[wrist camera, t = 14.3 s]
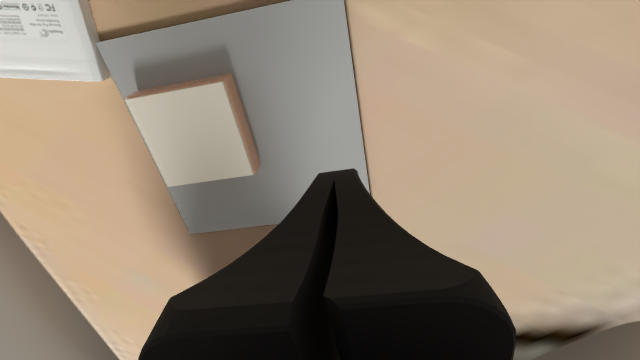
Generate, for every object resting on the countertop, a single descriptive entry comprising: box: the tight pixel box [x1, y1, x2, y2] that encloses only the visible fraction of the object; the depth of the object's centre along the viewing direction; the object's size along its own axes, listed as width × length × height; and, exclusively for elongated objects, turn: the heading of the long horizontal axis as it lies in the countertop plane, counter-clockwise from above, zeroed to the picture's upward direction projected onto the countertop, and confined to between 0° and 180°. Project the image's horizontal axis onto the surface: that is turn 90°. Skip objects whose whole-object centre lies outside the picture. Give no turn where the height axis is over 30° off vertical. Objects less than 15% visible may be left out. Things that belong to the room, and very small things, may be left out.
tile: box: [125, 73, 260, 187], centre depth 20 cm, size 6×2×6 cm
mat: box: [96, 0, 370, 234], centre depth 21 cm, size 14×14×1 cm
